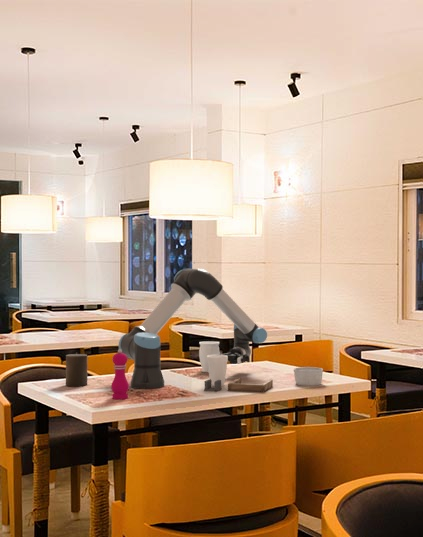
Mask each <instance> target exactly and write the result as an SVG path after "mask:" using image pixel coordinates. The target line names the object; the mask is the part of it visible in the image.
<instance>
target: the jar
mask: <svg viewBox="0 0 423 537" xmlns="http://www.w3.org/2000/svg"><path fill="white" fill-rule="evenodd" d="M198 344H199V350H198V356H199V357H198V358H199V364H200V365H201V366H200V367H201V371H200V372H203V373H209V371H208V363H207V356H208V355H216V354H221V352H220V347H219V346H220V341H215V340H211V341H209V340H208V341H207V340H206V341H205V340H204V341H199V343H198Z"/></svg>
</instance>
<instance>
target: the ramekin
mask: <svg viewBox="0 0 423 537" xmlns="http://www.w3.org/2000/svg"><path fill="white" fill-rule="evenodd" d="M323 372H324V369H323V368H322V367H315V366H300V367H295V368H293V374H294V381H295V383H296V385H297V386H307V387H314V386H320V385H321V384H322V382H323Z"/></svg>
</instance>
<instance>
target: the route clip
mask: <svg viewBox="0 0 423 537" xmlns="http://www.w3.org/2000/svg"><path fill="white" fill-rule="evenodd" d="M222 389H223V388H222V386H221V380H217V381H215V382H214V386H212V385H211V379H210V378H209V379H207V380H205V381H204V389H203V390H204V391H205V392H219V391H221V390H222Z"/></svg>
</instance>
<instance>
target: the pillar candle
mask: <svg viewBox="0 0 423 537" xmlns="http://www.w3.org/2000/svg"><path fill="white" fill-rule="evenodd" d="M65 386H66V387H71V388H72V387H73V388H74V387H77V388H79V387H87V386H88V354H84V353H82V354H81V353H78V352H75V353H73V354H66V355H65Z"/></svg>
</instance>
